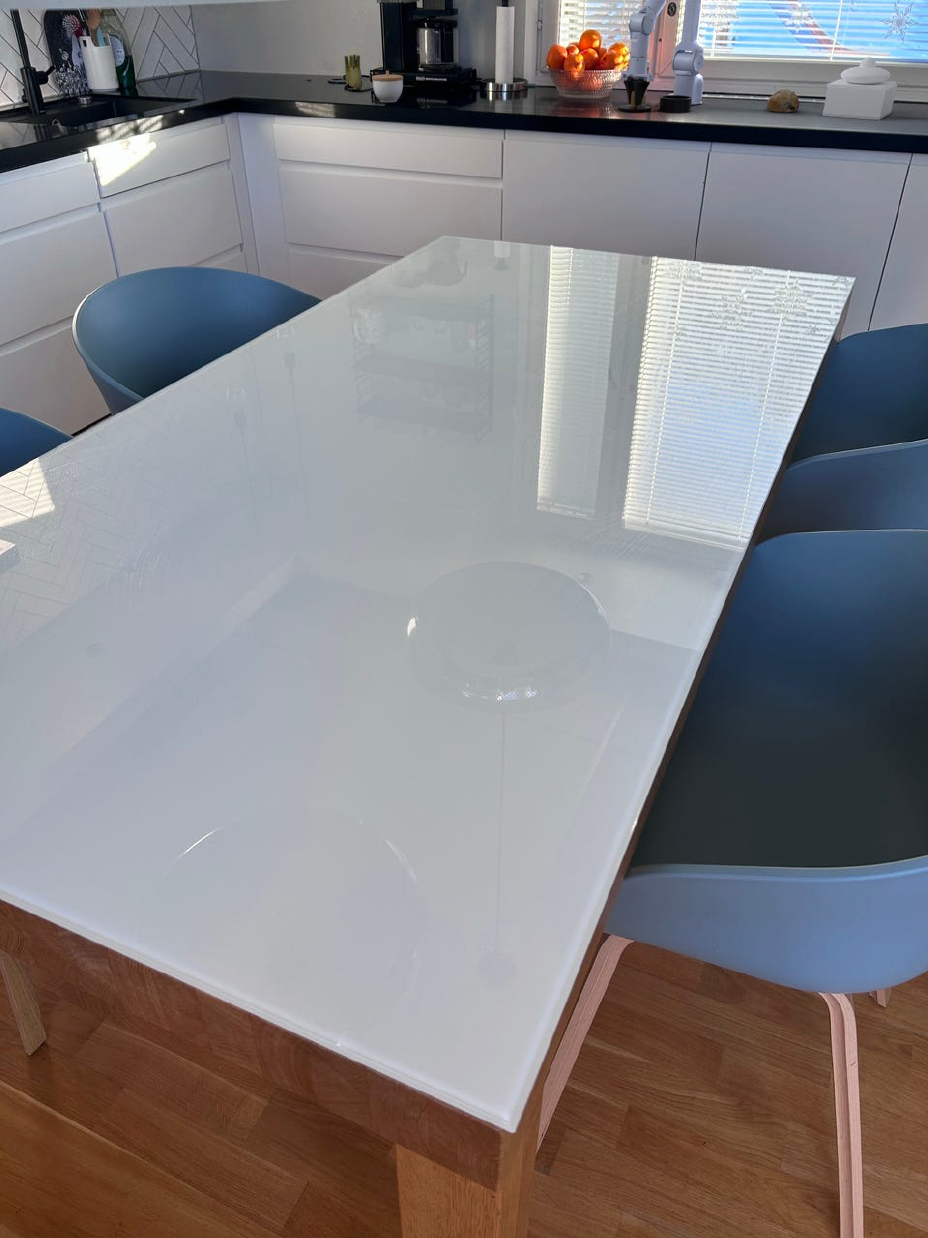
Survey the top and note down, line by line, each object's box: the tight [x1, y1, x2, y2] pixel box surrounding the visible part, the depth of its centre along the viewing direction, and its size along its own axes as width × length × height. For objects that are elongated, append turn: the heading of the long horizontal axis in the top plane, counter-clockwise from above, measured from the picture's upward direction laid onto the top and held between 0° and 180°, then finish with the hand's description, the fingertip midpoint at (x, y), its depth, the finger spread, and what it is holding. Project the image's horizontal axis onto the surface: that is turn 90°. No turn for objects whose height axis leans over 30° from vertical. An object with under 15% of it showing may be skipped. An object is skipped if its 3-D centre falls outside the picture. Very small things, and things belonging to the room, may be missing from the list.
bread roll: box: [765, 89, 800, 114], centre depth 310 cm, size 10×10×8 cm
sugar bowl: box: [371, 70, 404, 103], centre depth 333 cm, size 11×11×9 cm
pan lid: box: [617, 91, 652, 113], centre depth 312 cm, size 11×11×6 cm
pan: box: [658, 94, 692, 114], centre depth 312 cm, size 10×10×4 cm
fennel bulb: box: [344, 53, 363, 91], centre depth 358 cm, size 6×5×12 cm
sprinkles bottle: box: [637, 60, 651, 106], centre depth 319 cm, size 5×5×13 cm
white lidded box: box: [821, 56, 899, 121], centre depth 300 cm, size 18×18×16 cm
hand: (634, 104), depth 313 cm, fingers closed on pan lid, 3 cm apart
